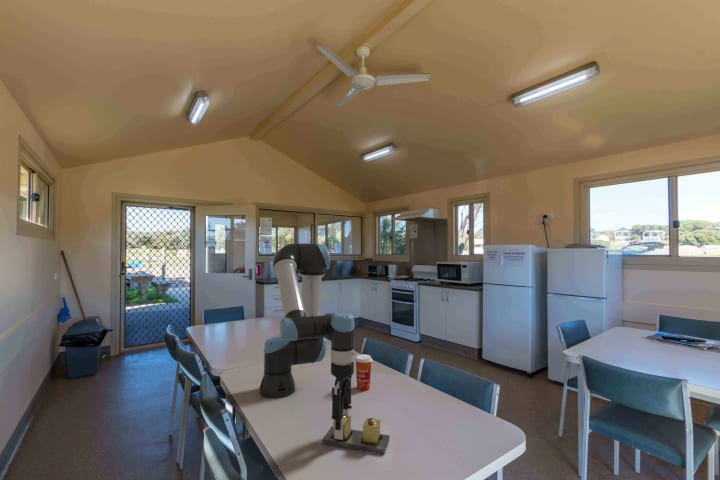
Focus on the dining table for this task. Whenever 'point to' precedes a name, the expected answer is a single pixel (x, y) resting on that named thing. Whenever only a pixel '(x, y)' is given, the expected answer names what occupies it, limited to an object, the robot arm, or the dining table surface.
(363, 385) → the paper cup
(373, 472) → the dining table surface
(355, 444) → the holder with square slots
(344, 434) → the yellow square bottle
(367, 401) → the dining table surface
